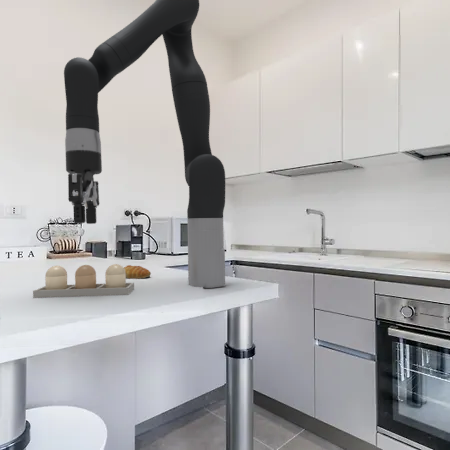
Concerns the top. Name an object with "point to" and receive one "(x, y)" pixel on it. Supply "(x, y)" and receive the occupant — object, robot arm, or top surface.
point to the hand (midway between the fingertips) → (85, 223)
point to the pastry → (136, 272)
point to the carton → (83, 291)
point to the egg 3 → (115, 276)
